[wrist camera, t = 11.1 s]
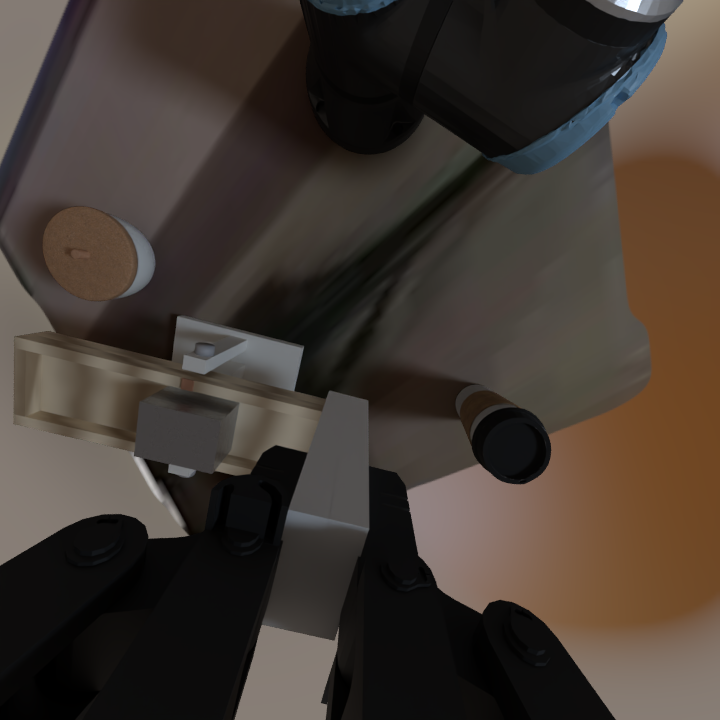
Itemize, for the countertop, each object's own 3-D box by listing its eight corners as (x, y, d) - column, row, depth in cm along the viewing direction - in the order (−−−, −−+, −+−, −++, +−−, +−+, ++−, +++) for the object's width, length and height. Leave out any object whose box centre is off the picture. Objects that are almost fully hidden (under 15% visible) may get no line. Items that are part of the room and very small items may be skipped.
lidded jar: (137, 202, 45) (78, 182, 36) (185, 272, 47) (141, 271, 38) (78, 245, 46) (7, 236, 37) (127, 311, 48) (72, 319, 39)
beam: (45, 410, 40) (11, 424, 36) (48, 331, 38) (12, 336, 34) (336, 478, 42) (333, 499, 38) (355, 406, 40) (354, 420, 36)
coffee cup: (452, 433, 52) (485, 494, 37) (442, 383, 50) (472, 425, 35) (506, 421, 51) (562, 478, 37) (498, 370, 49) (553, 408, 35)
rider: (162, 433, 38) (134, 455, 34) (168, 385, 37) (139, 401, 32) (231, 449, 39) (212, 474, 34) (239, 402, 37) (221, 421, 33)
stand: (170, 415, 52) (100, 463, 38) (183, 313, 48) (111, 327, 35) (282, 443, 53) (253, 499, 39) (304, 344, 49) (280, 369, 35)
